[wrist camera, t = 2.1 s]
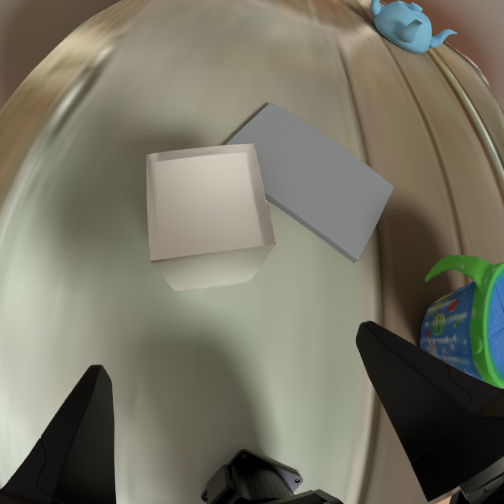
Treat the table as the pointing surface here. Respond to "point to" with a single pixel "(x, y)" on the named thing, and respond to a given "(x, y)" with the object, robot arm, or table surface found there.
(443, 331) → the snack cup
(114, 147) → the table surface
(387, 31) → the teapot
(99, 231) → the table surface
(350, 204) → the mat
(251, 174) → the cover
